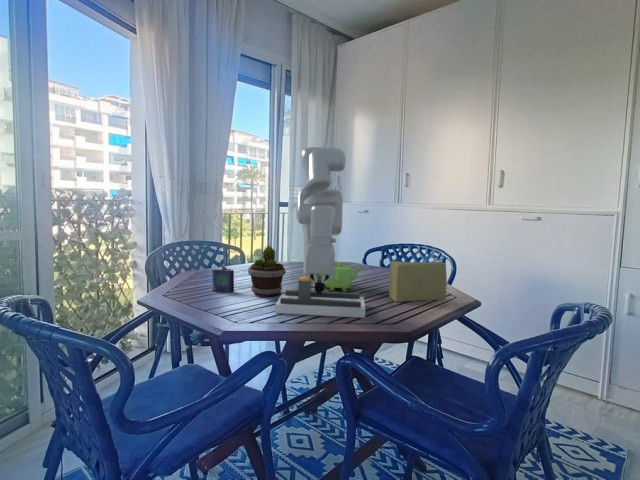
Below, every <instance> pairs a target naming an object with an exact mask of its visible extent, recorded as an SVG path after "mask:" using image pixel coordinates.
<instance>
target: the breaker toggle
mask: <svg viewBox="0 0 640 480" xmlns="http://www.w3.org/2000/svg"><path fill="white" fill-rule="evenodd" d="M297 287H298V288H297V289H298V290H297V291H298V299H311V291H312V287H311V278H310V277H306V276H303V275H300V276H299V277H298V286H297Z"/></svg>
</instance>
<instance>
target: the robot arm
mask: <svg viewBox="0 0 640 480" xmlns="http://www.w3.org/2000/svg"><path fill="white" fill-rule="evenodd" d="M344 152H345V151H343V150H342V149H341V148H338V147H321V146H320V147H318V146H317V147H316V146H315V147H313V146H312V147H306V148H304V149H302V151H301V158H300V159H301V163H302V167H303V170H304V173H305V177H306V184H304V186H302V188H301V189H300V190H299V192H298V194H297V197H296V211H295V212H296V214H295V215H296V220H297V221H296V222H298V223H299V224H300V225H302V230H303V231H302V232H303V268H302V269H303V271H302V274H303V275H302V276H306V277H310V278H311V288H314V291H317V294H321V293H322V292H325V291H324V288H325V287H326V280H327V279H328V278H333V277H335V272H334V270H335V265H336V257H335V246H334V245H333V244H334V243H336V242H337V238H334V237H333V236H339V235H340V234H341V233H342V230H343V207H344V206H343V199H344V198H343V194H342V192H341V191H340V190H339V189H333V188H332V189H329V188H330V187H331V183H332V182H331V181H332V180H331V177H332V176H331V172H343V171H344V170H345V167H346V156H345V153H344ZM305 201H306V203H305ZM319 274H322V276H320V275H319Z"/></svg>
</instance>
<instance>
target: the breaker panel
mask: <svg viewBox="0 0 640 480" xmlns="http://www.w3.org/2000/svg"><path fill="white" fill-rule="evenodd" d="M360 295H361V294H360V293H358V292H357V293H356V292H355V293H354V292H339V291H338V292H337V291H336V292H335V291H323V292H322V293H321V294H317V291H315V290H314V291H313V290H311V299H298V290H297V289H296V290H295V289H293V290H291V289H286V290H285V292H283V293H281V295H280V296H279V298H278V300H277V301H276V303H275V304H274V314H286V315H306V316H307V315H309V316H322V317H323V316H327V317H342V318H361V319H363V318H366V303H365V297H364V296H360Z"/></svg>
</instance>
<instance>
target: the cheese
mask: <svg viewBox="0 0 640 480" xmlns="http://www.w3.org/2000/svg"><path fill="white" fill-rule="evenodd" d="M388 284H389V285H388V287H389V288H388V297H389V298H390V299H392V300H393V301H394V302H396V303H401V302H402V303H403V302H404V303H405V302H416V301H441V300H442V301H443V300H445V299H447V297H446V295H447V264H446V263H445V262H442V261H427V262H425V261H424V262H421V261H420V262H416V261H415V262H410V261H409V262H408V261H396V260H392V261H390V265H389V283H388Z"/></svg>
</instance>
